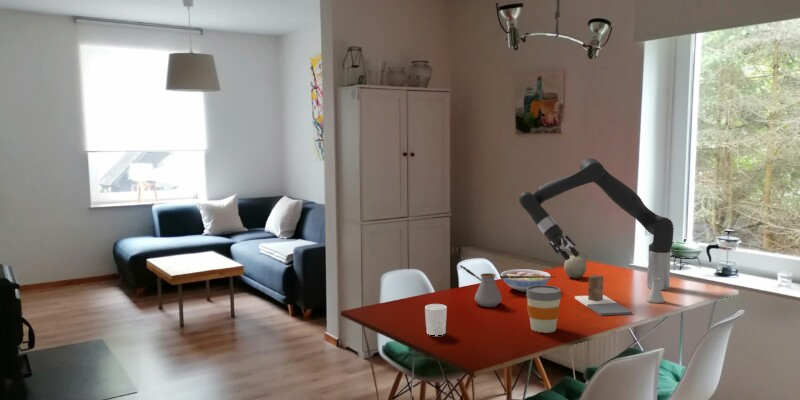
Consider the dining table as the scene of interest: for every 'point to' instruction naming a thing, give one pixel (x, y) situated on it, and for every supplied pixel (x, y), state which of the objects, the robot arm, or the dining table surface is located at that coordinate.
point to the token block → (595, 288)
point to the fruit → (575, 266)
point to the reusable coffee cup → (543, 307)
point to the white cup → (435, 319)
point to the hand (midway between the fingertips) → (573, 257)
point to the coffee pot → (486, 290)
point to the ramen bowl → (524, 278)
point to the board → (604, 306)
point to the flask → (655, 292)
